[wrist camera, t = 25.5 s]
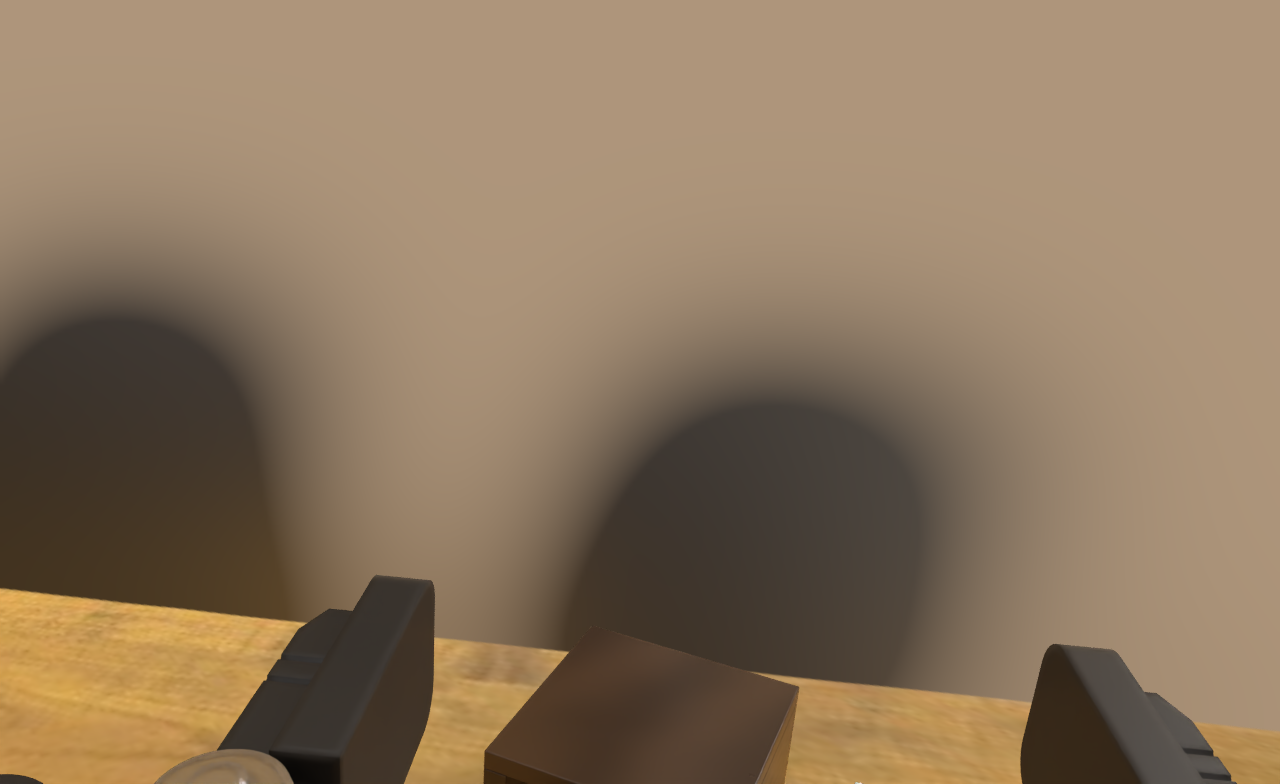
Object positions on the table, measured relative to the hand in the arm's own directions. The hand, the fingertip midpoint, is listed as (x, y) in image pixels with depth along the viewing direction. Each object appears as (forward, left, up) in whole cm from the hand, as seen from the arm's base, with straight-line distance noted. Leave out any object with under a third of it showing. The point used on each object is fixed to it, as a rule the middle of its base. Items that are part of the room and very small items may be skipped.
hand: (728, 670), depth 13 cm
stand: (+10, -29, -32) cm, 44 cm away
